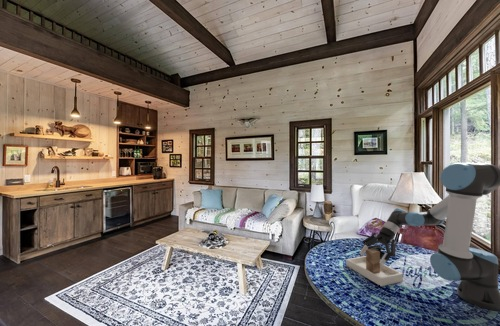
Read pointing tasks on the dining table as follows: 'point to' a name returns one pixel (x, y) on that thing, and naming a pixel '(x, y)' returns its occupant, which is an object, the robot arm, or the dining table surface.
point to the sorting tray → (382, 278)
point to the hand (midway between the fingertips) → (370, 259)
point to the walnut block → (373, 260)
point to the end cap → (378, 249)
